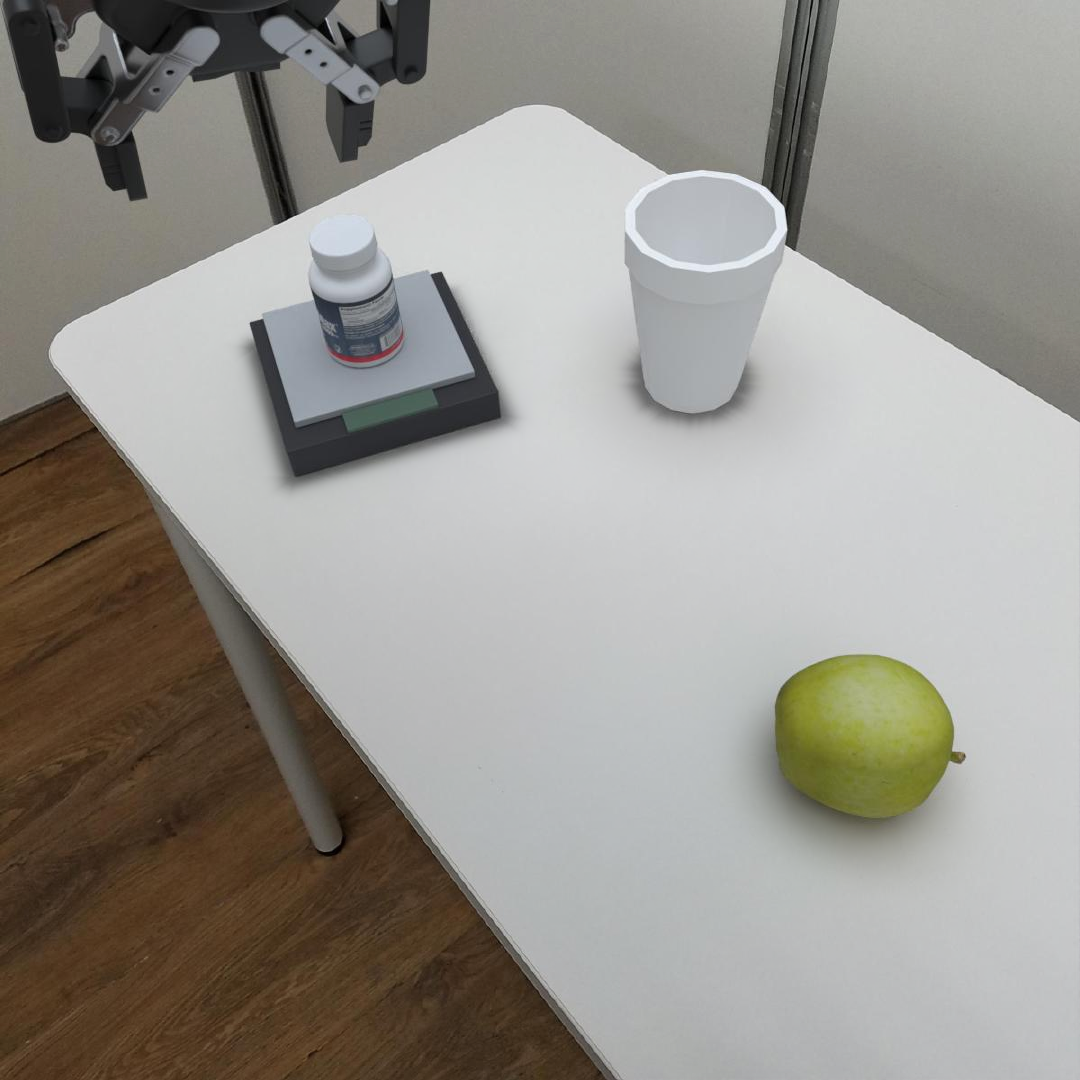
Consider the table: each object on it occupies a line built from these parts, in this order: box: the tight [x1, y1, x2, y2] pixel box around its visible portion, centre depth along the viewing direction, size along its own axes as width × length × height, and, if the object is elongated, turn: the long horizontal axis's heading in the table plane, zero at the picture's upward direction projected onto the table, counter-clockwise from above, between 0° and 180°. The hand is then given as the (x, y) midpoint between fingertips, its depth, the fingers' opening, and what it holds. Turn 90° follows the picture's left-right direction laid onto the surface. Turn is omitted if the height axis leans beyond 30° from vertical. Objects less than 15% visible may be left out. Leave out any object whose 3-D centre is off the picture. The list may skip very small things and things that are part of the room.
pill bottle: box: [307, 214, 404, 368], centre depth 70 cm, size 5×5×9 cm
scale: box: [249, 269, 502, 477], centre depth 74 cm, size 14×13×3 cm
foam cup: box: [624, 169, 788, 415], centre depth 69 cm, size 10×9×13 cm
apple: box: [774, 653, 967, 819], centre depth 54 cm, size 8×9×8 cm
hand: (239, 163), depth 45 cm, fingers open, 8 cm apart
